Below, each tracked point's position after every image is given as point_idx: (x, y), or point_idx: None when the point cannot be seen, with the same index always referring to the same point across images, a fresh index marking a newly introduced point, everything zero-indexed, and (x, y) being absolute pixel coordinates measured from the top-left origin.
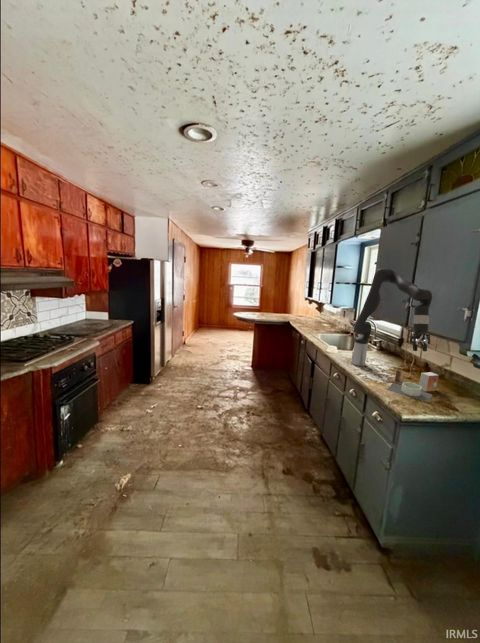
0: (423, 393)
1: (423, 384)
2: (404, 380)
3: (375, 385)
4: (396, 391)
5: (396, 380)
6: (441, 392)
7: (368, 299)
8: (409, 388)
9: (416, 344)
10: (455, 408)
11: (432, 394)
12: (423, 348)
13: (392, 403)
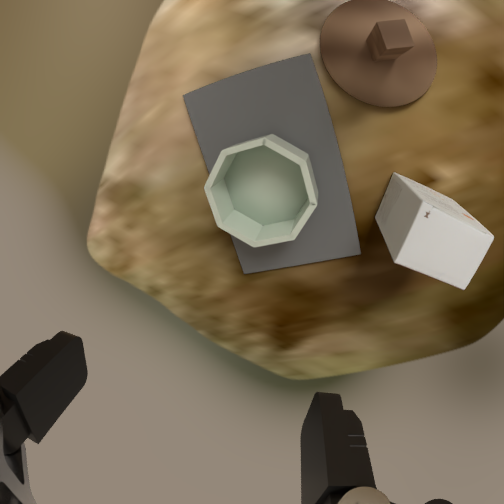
0: (331, 221)
1: (389, 207)
2: (428, 75)
3: (193, 29)
4: (214, 132)
5: (369, 47)
6: None
7: None
8: (211, 203)
9: (26, 434)
10: (296, 342)
11: (360, 252)
12: (318, 434)
13: (105, 197)
